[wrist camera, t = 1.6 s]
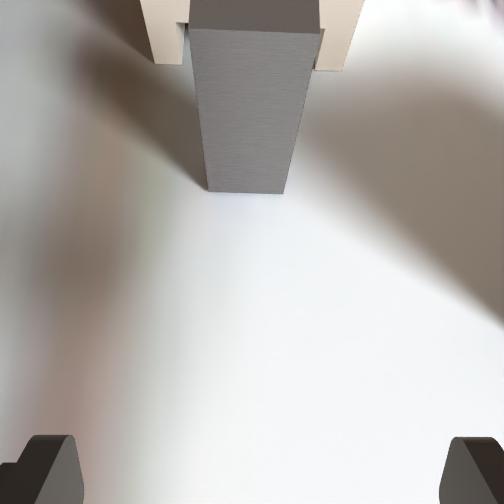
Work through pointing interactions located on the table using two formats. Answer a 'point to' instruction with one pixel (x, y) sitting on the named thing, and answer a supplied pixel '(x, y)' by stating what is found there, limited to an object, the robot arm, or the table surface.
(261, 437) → the table surface
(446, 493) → the robot arm
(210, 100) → the tall gray rectangular post
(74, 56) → the table surface
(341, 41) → the cream bridge-shaped block
